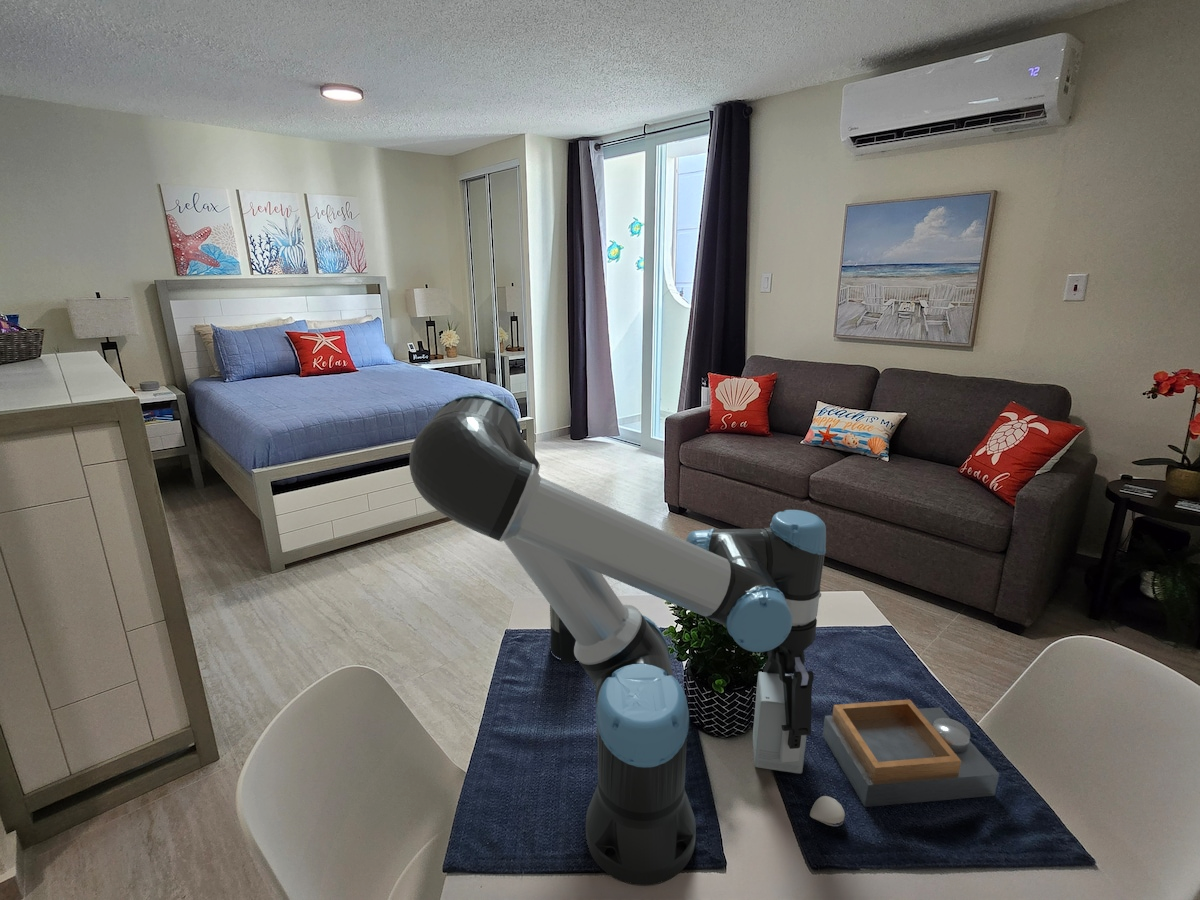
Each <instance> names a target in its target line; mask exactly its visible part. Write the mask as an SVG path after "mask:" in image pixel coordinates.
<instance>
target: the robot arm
mask: <svg viewBox="0 0 1200 900" xmlns="http://www.w3.org/2000/svg"><path fill="white" fill-rule="evenodd" d="M520 425H521V424H520V423H519V421H518V418H517V416H516V414H515V413H514V410H513V409H512V408H511V406H509V405H508V404H507V403H506V402H504V401H503V400H501V399H500V398H498V397H496V396H493V395H492V394H491V395H490V394H487V393H482V392H481V393H480V392H479V393H478V392H473V393H472V392H471V393H467V394H462V395H460V396H457V397H455V398H454V399H452V400H451V401H448V402H446V403H445V404H444V405H442V407H440V408H439V409H438V410H437V411H436V412H435V414H434V415H433V417H432V418H431V420H429V422H428V423H427V424H426V425H425V426H424V427H423V428H422V429H421V430H420V432H418V434H417V436H416V437H415V439H414V441H413V443H412V446H411V449H410V454H409V465H408V466H409V471H410V476H411V479H412V481H413V484H414V486H415V488H416V489H417V491H418V493H419V494H420V495H421V497H422V498H423V499H424V500H425V501H426V502H427V503H428V504H429V505H430V506H431V507H433V509H435V510H436V511H438V512H439V513H440V514H442V515H444V516H445V517H447V518H448V519H450V520H452V521H454V522H456V523H458V524H460V525H462V526H464V527H466V528H468V529H469V530H472V531H474V532H476V533H479V534H481V535H483V536H485V537H489V538H491V539H493V540H496V541H499V542H504V543H505V545H506V546H507V548H508V549H509V550H510V551H511V554H513V556H514V557H515V559H516V560H517V562H519V564H520V566H521V567H522V568H523V570H524V571H525V573H526V574H527V575H528V577H529V578H530V579H531V581H532V582H533V583H534V585H535V586H536V587H537V589H538V590H539V591H540V593H541V595H542V596H543V597H544V599H545V600H546V601H547V603H548V604H549V606H550V605H551V607H552V608H553V609H554V611H555V612H556V613H557V615H558V616H559V618H560V619H561V620H562V622H563V623H564V624H565V626H566V627H567V628H568V630H569V631H570V633H571V634H572V635H573V637H574V638H575V639H576V643H575V646H574V655H575V657H576V659H577V660H578V661H579V662H578V663H579V664H580V666H581V667H582V669H583V670H584V671H585V672H586V674H587V675H588V676H589V678H590V679H591V681H592V682H593V685H594V687H595V722H596V734H597V735H596V736H597V738H596V739H597V785H596V788H595V790H594V792H593V795H592V798H591V800H590V802H589V805H588V808H587V810H586V816H585V841H586V840H587V841H586V845H588V846H587V849H588V848H589V849H588V851H589V853H590V856H591V857H592V859H593V860H594V862H595V863H596V864H597V866H598V867H599V868H600V869H602V870H603V871H604V872H605V873H606V874H608V875H610V877H612V878H614V879H616V880H618V881H621V882H623V883H626V884H630V885H636V886H637V885H638V886H651V885H656V884H661V883H664V882H666V881H669V880H670V879H672V878H675V876H677V875H678V874H680V872H682V871H683V870H684V869H685V867H686V866H687V865H688V864H689V862H690V860H691V859H692V856H693V854H694V851H695V846H696V835H697V834H696V828H697V827H696V824H697V823H696V818H695V815H694V812H693V811H694V810H693V809H692V806H691V803H690V801H689V797H688V795H687V792H686V789H685V788H686V787H685V783H686V766H687V765H686V762H687V743H688V740H687V739H688V732H689V726H690V724H689V723H690V712H689V707H688V701H687V696H686V694H685V693H686V692H685V691H684V689H683V687H682V685H681V684H680V682H679V681H678V680H677V679H676V677H674V673H673V672H674V671H673V668H672V663H671V656H670V655H671V654H670V649H669V645H668V643H667V640H666V638H665V635H664V634H663V633H662V631H661V629H660V627H659V626H658V625H657V624H656V623H655V622H654V621H653V620H651V619H650V618H649V617H647V616H645V615H643V614H642V613H641V611H640V610H639V609H638V608H637V607H636V606H634V605H632V604H623V603H622V601H621V599H619V597H618V595H617V594H616V593H615V591H614V590H613V588H612V587H611V586H610V584H609V583H608V581H607V579H606V578H605V576H606V577H609V578H611V579H612V580H616V581H619V582H620V583H623V584H625V585H628V586H631V587H633V588H635V589H637V590H640V591H642V592H644V593H646V594H649V595H652V596H654V597H656V598H658V599H661V600H664V601H666V602H669V603H671V604H673V605H675V606H678V607H680V608H683V609H685V610H689V611H691V612H692V613H695V614H698V615H700V616H702V617H705V618H707V619H709V620H711V621H714V622H715V623H718V624H720V625H722V626H725V627H726V629H727V632H728V634H729V636H730V637H732V638H733V641H734V642H736V644H737V645H738V646H739V647H740V648H742V649H744V650H746V651H748V652H751V653H752V652H753V653H760V652H762V655H765V656H766V655H767V656H768V659H767V662H765V663H766V664H765V666H764V667H763V672H766V673H776V674H779V678H780V680H781V681H782V682H783V689H784V702H785V714H786V723H785V724H783V725H781V726H782V740H781V750H780V760H781V762H793V761H799V754H800V745H801V737H802V735H807V736H811V735H812V697H813V695H812V692H813V691H812V689H813V683H814V678H815V676H814V675H815V674H814V672H813V671H812V670H806V668H805V662H806V659H805V652H804V651H805V650H806V649H808V647H810V646H811V645H812V644H813V643H814V642H815V638H816V633H817V623H818V620H817V617H818V612H819V611H818V610H819V602H820V598H821V597H822V592H821V584H822V575H823V568H824V561H825V555H826V552H827V548H826V545H827V526H826V524H825V522H824V520H822V519H821V517H819V516H818V515H816V514H814V513H812V512H809V511H806V510H800V509H785V510H783V511H777V512H776V513H774V515H773V516H772V518H771V522H770V524H769V527H762V528H713V527H712V528H710V529H701V530H692V531H690V533H688V535H687V537H686V539H682V538H680V537H677V536H676V535H674V534H671V533H669V532H666V531H664V530H662V529H661V528H660V529H659V528H657V527H655V526H652V525H650V524H648V523H646V522H644V521H642V520H639V519H637V518H634V517H633V516H631V515H628V514H626V513H623V512H621V511H618V510H616V509H614V508H611V507H610V506H607V505H605V504H603V503H600V502H598V501H596V500H594V499H591V498H589V497H587V496H584V495H582V494H581V493H577V492H575V491H574V490H571V489H568V488H567V487H564V486H562V485H559V484H557V483H555V482H553V481H550V480H548V479H546V478H543V477H542V476H541V475H540V473H539V472H540V467H541V464H540V462H539V461H538V460H537V458H536V456H535V455H534V453H533V452H532V450H531V448H530V447H529V446H528V444H527V443H526V441H525V440H524V439H523V437H522V436H521V435H522V433H521V426H520ZM785 674H786V675H787V676H785Z"/></svg>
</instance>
